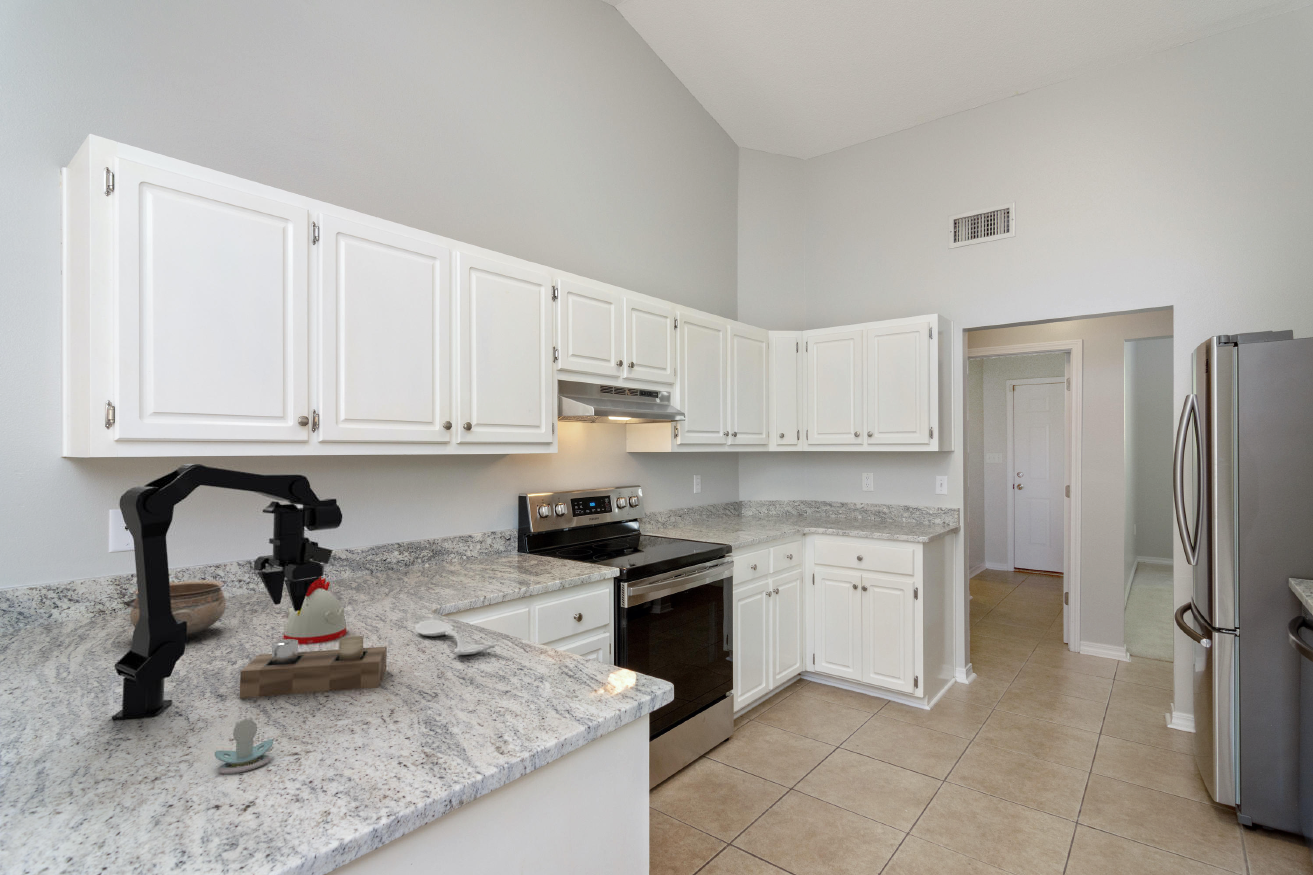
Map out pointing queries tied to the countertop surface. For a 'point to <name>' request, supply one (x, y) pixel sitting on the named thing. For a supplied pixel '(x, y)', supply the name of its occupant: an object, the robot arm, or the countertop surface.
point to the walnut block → (313, 673)
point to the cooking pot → (192, 604)
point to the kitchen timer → (316, 617)
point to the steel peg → (285, 652)
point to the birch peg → (351, 647)
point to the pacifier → (244, 750)
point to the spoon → (445, 628)
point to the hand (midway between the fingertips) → (287, 607)
